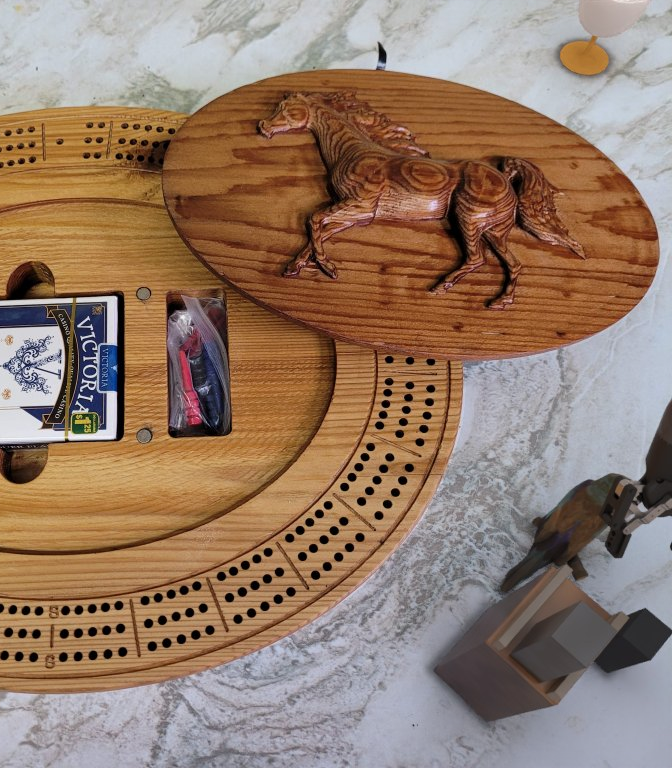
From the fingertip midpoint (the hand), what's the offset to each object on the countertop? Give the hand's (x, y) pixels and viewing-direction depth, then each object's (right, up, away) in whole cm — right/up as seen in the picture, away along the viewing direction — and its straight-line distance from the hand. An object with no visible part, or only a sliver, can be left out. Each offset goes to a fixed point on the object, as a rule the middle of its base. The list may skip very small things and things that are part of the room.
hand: (645, 554), depth 99 cm
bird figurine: (-2, -3, +19) cm, 19 cm away
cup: (+24, +83, +60) cm, 106 cm away
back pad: (+2, -15, +12) cm, 20 cm away
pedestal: (-14, -17, +12) cm, 25 cm away
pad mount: (-15, -7, -8) cm, 19 cm away
